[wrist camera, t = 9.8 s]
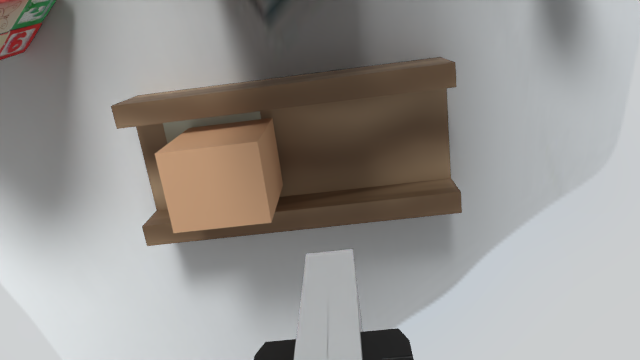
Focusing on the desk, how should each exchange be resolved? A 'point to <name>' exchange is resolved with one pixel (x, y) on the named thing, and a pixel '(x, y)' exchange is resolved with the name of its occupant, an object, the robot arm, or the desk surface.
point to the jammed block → (221, 175)
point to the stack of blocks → (20, 24)
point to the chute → (321, 143)
